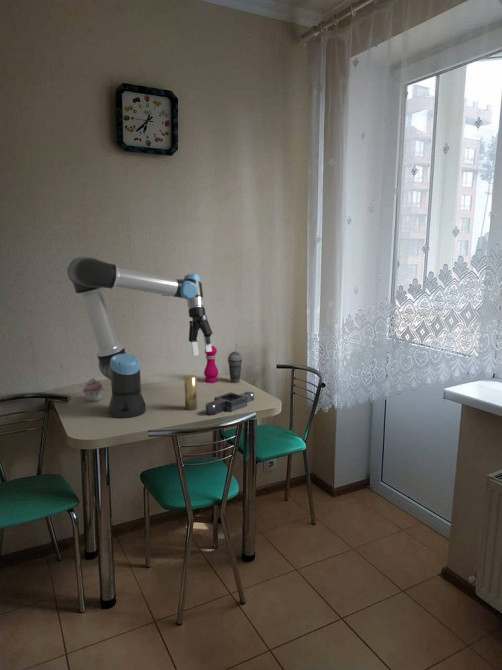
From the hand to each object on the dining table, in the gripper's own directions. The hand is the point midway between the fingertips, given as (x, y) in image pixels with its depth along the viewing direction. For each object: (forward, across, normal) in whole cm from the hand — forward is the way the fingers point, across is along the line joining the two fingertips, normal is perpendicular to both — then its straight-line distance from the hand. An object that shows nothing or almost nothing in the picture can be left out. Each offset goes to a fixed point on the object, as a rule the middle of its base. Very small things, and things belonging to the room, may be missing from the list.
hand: (202, 353), depth 221 cm
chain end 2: (+24, -12, -8) cm, 28 cm away
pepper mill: (+12, +24, -15) cm, 31 cm away
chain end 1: (+25, -14, 0) cm, 29 cm away
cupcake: (+14, +26, +44) cm, 53 cm away
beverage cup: (+14, +17, -24) cm, 33 cm away
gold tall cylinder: (+23, -6, +12) cm, 27 cm away
